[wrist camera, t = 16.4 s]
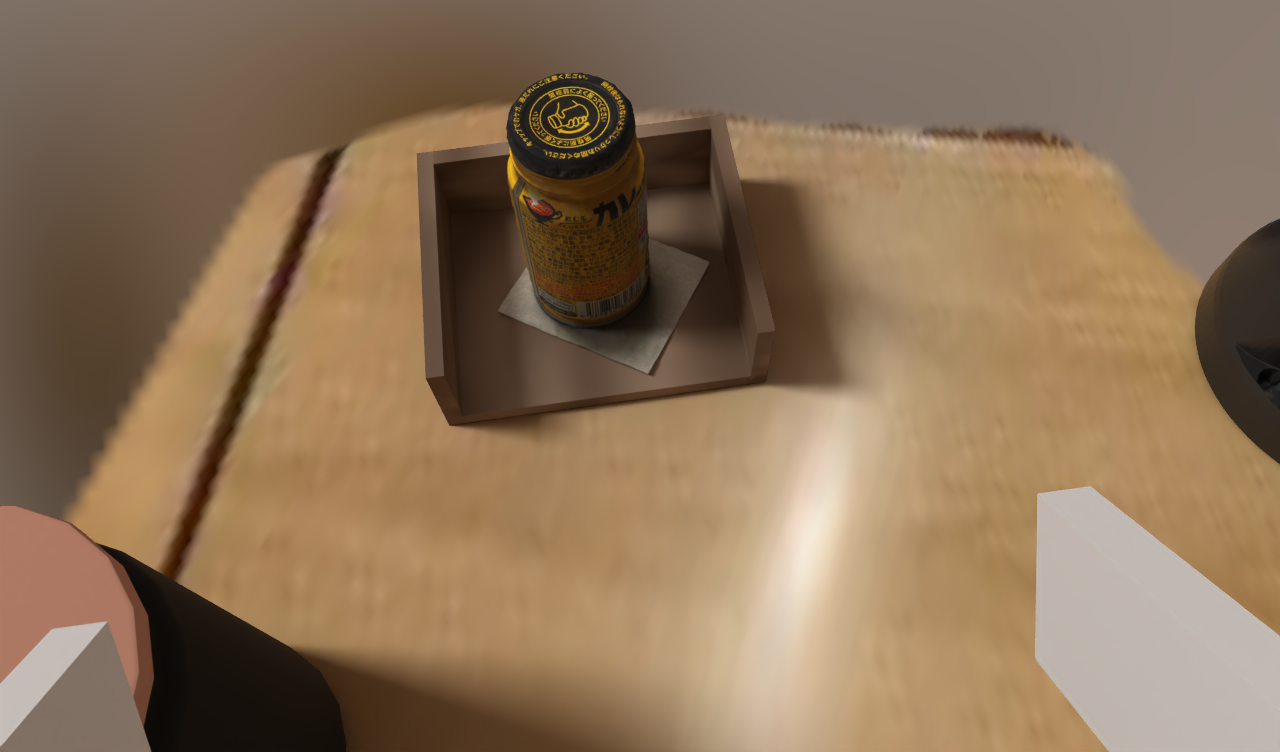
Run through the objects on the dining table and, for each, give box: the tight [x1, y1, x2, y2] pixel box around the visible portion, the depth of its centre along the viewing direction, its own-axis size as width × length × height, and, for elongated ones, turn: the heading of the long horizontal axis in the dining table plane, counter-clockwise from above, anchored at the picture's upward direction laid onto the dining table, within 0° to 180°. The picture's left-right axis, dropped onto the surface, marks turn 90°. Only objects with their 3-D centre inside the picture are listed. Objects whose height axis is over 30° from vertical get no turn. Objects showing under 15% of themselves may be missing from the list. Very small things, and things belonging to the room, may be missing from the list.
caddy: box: [417, 115, 776, 425], centre depth 47 cm, size 16×13×5 cm
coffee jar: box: [0, 506, 346, 752], centre depth 31 cm, size 11×11×18 cm
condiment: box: [498, 73, 710, 374], centre depth 43 cm, size 7×8×12 cm
